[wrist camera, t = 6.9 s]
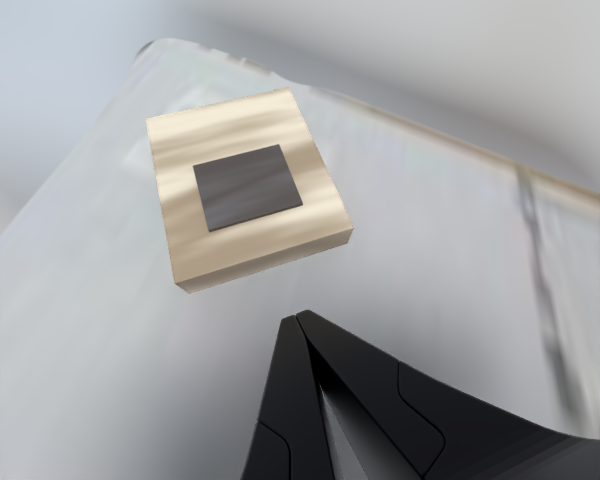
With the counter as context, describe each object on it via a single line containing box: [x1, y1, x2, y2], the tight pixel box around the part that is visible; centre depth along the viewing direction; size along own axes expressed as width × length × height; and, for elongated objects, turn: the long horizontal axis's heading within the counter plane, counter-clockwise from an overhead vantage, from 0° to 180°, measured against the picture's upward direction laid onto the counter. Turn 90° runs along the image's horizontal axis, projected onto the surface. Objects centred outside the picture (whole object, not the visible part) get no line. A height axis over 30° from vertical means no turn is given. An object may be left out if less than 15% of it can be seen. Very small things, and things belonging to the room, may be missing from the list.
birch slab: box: [146, 87, 354, 293], centre depth 20 cm, size 3×11×13 cm
